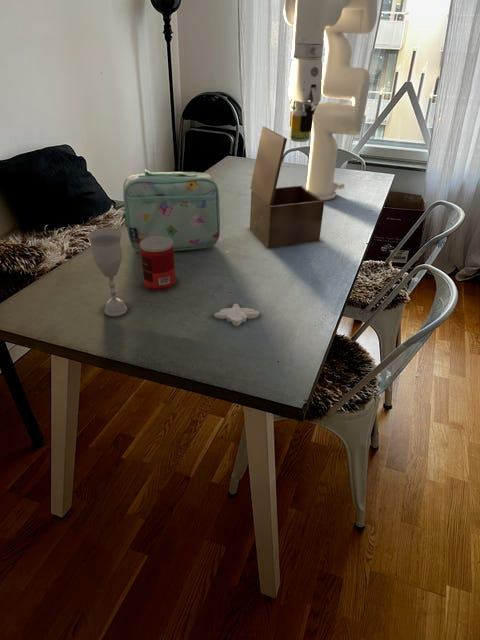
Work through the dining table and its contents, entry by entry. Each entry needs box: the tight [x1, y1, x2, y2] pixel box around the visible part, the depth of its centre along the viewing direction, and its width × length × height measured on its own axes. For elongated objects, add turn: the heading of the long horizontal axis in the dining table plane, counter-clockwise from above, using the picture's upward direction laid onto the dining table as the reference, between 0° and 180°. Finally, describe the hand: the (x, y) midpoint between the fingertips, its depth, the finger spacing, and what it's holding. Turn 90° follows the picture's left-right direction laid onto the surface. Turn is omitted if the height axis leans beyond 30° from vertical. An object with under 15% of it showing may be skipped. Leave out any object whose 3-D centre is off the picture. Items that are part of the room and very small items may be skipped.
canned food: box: [139, 236, 177, 291], centre depth 113 cm, size 8×8×11 cm
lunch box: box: [120, 169, 221, 253], centre depth 128 cm, size 27×10×21 cm, turn 102°
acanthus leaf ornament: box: [213, 303, 260, 327], centre depth 103 cm, size 8×7×2 cm
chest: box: [249, 185, 325, 249], centre depth 139 cm, size 17×15×12 cm
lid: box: [249, 126, 288, 205], centre depth 128 cm, size 18×15×1 cm
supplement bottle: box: [289, 100, 311, 143], centre depth 125 cm, size 5×5×10 cm
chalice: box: [87, 228, 128, 317], centre depth 100 cm, size 7×7×18 cm
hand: (300, 128), depth 126 cm, fingers closed on supplement bottle, 5 cm apart
